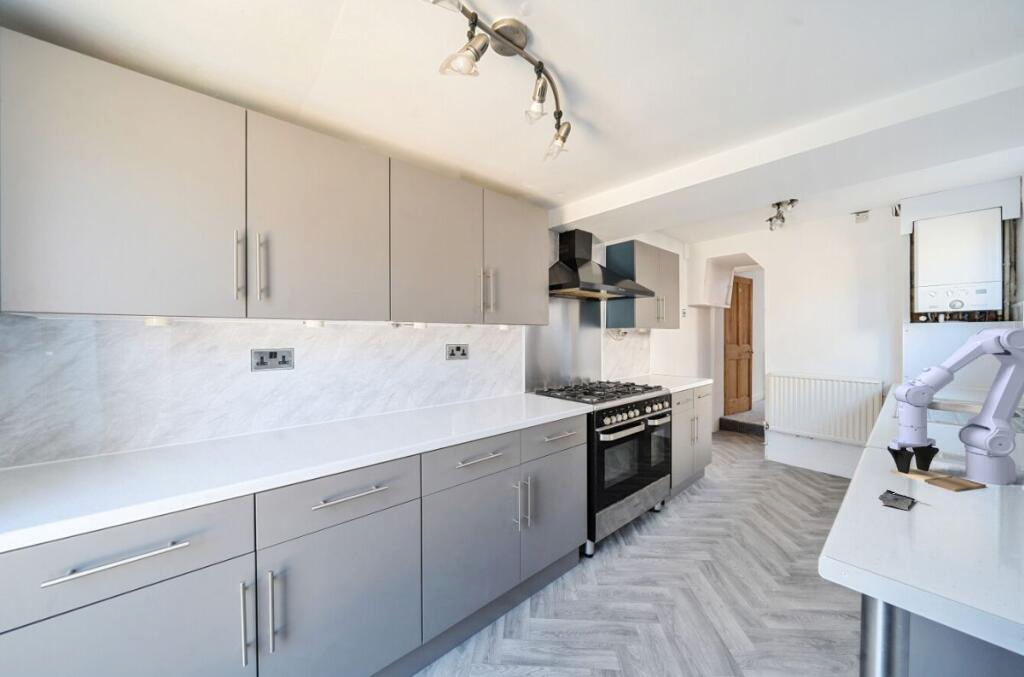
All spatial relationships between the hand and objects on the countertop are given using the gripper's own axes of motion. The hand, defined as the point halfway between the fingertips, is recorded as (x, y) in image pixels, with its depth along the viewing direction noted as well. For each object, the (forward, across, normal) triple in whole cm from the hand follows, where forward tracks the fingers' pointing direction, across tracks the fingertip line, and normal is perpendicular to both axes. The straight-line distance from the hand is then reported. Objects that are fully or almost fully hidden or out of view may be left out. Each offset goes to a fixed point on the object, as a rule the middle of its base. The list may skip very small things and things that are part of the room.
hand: (912, 471), depth 109 cm
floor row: (+2, -1, +4) cm, 4 cm away
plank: (+1, -1, +1) cm, 2 cm away
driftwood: (+3, +18, +9) cm, 20 cm away
